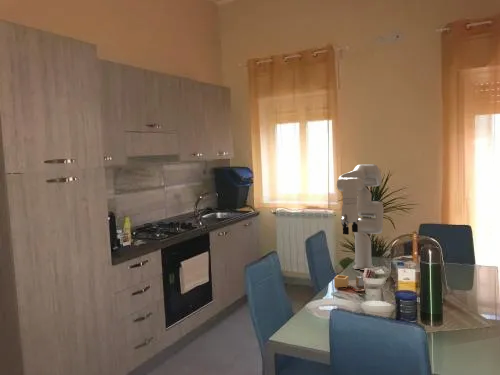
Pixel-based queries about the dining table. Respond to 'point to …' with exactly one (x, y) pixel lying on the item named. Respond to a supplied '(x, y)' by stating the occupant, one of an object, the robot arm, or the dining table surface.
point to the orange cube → (341, 281)
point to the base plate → (356, 287)
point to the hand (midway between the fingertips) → (350, 233)
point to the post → (359, 281)
